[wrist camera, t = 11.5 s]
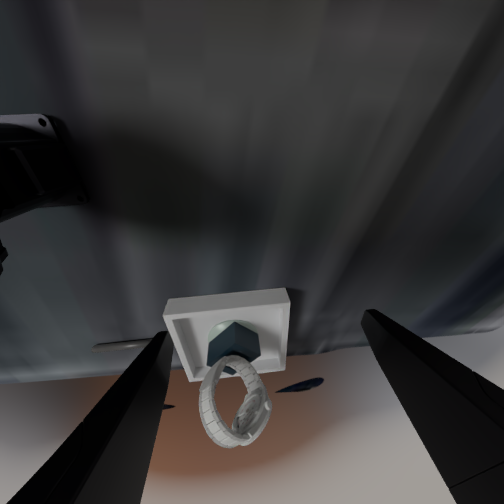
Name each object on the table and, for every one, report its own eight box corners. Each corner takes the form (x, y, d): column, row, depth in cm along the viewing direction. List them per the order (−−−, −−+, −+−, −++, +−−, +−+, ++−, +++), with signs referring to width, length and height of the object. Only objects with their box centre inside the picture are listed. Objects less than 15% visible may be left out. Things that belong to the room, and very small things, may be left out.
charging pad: (115, 373, 32) (106, 392, 29) (66, 309, 24) (50, 327, 22) (281, 354, 33) (284, 370, 31) (285, 287, 26) (290, 302, 23)
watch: (242, 357, 30) (248, 458, 21) (197, 338, 27) (181, 448, 18) (268, 338, 29) (287, 440, 19) (224, 315, 25) (221, 424, 16)
